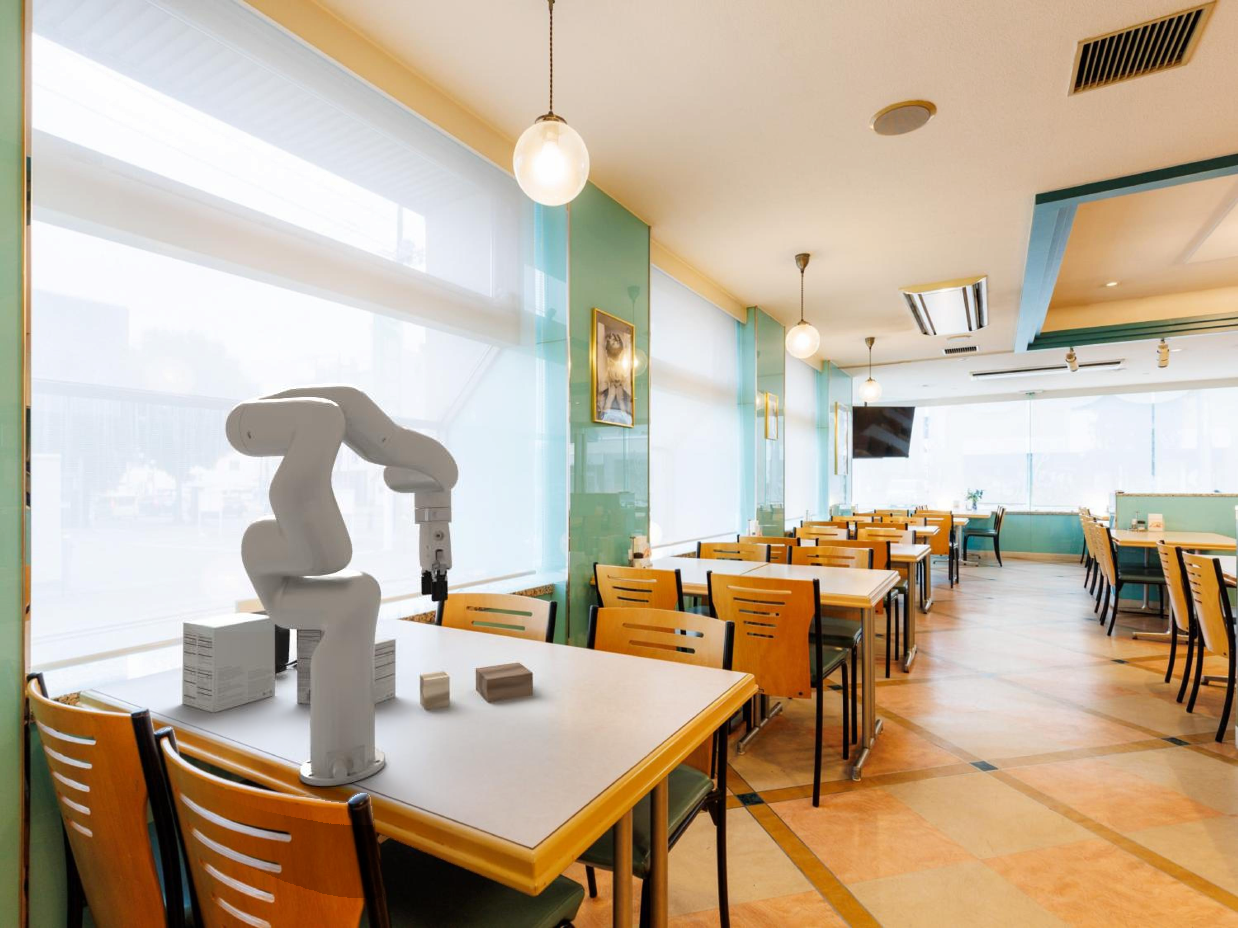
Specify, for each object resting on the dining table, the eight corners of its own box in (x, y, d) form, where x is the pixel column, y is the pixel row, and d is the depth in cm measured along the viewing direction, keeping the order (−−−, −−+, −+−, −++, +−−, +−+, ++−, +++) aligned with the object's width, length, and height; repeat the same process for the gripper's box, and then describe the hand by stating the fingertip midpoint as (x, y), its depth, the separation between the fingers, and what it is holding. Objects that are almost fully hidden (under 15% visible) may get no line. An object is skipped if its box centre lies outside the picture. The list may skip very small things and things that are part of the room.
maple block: (449, 705, 133) (449, 676, 134) (425, 710, 131) (424, 680, 131) (443, 699, 138) (443, 670, 138) (420, 703, 135) (419, 674, 136)
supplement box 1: (243, 687, 150) (243, 611, 150) (276, 695, 143) (276, 615, 144) (180, 703, 138) (181, 621, 139) (213, 713, 132) (213, 627, 132)
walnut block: (533, 696, 139) (532, 672, 139) (487, 703, 135) (487, 679, 135) (519, 684, 148) (518, 662, 148) (475, 690, 144) (475, 668, 144)
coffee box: (323, 690, 146) (323, 618, 146) (349, 691, 144) (348, 619, 145) (295, 703, 137) (295, 627, 137) (322, 705, 135) (322, 628, 136)
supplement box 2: (345, 701, 137) (344, 642, 138) (373, 692, 144) (372, 634, 144) (369, 706, 134) (369, 645, 134) (397, 696, 140) (396, 637, 141)
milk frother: (236, 674, 161) (236, 614, 161) (286, 658, 176) (286, 604, 176) (281, 678, 157) (281, 616, 157) (328, 661, 172) (328, 605, 172)
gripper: (461, 516, 130) (462, 601, 130) (441, 514, 145) (442, 590, 145) (423, 518, 127) (424, 605, 126) (407, 515, 142) (408, 593, 141)
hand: (434, 597), depth 135 cm, fingers open, 9 cm apart
